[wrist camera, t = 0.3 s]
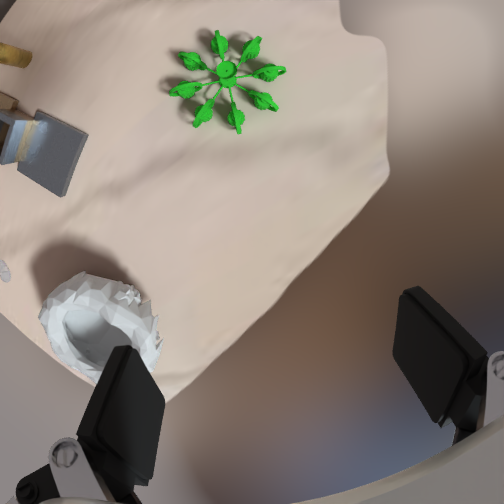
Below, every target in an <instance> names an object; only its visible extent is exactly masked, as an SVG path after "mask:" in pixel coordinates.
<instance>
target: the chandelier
mask: <svg viewBox="0 0 504 504" xmlns="http://www.w3.org/2000/svg"><path fill="white" fill-rule="evenodd" d="M261 40H262V38H261V37H259V36H257V37H256V38H255V39H254V40H249V41H247V42H246V43H245V44H244V46H243V49H242V51H243V55H242V57H241V59H240V60H241V61H240V62H239V64H238V65H237V66H236V65H235V64H234V63H233V62H230V61H224V53H225V52H226V51H227V49H228V41H227V40H226V38H225V37H224V36H220V34H219V30H216V31H215V37H214V38H213V39H212V41H211V48H212V50H213V52H214V53H216V54H219V55H220V58H221V59H222V62H221V63H220V64H219V65H218V66H217V69H216V71H217V72H215V71H213V70H211V69H209V68H207V65H206V64H205V63H204V62H202V61H201V58H200V56H199V55H197V53H194V52H190V53H186V52H180V53H179V54H178V57H179V58H180V59H182V60H183V62H184V65H185V66H186V68H188V69H189V70H192V71H194V70H197V69H200V70H206V69H207V70H209V71H211V72H213V73H215V74H216V75H218V76H219V81H214V82H210V83H206V84H202V83H199V82H193V83H191V82H188V81H182V82H180V83H179V84H178V86H176V87H174V88H172V89H171V90H170V91H169V95H170V96H181V97H182V98H185V99H187V98H188V99H189V98H190V97H192V96H193V95H194V94H195V92H196V91H199V90H200V89H202V86H205V85H209V84H213V83H218V82H219V84H220V85H221V88H220V89H219V90H218V92H217V93H216V95H215V96H214V97H213V99H209V100H208V101H207V102H206V103H205V104H204V105H200V106H198V107H197V108H196V110H195V116H196V118H195V120H194V122H193V127H195V128H198V127H199V126H200V124H201V123H202V122H207V121H209V120H210V119H211V118H212V116H213V114H212V113H213V111H212V110H211V108H212V107H213V105H214V102H215V100H214V99H215V98H216V96H217V95H218V94H219V92H220V91H221V89H222V88H223V87H224V88H229V93H230V97H231V102H232V103H231V107H232V111H231V112H229V115H228V119H227V120H228V122H229V124H231V125H232V126H235V127H236V130H237V134H241V127H240V125H241V124H243V122H244V120H245V119H244V117H245V115H244V114H243V112H241V111H240V110H237V108H236V104H235V102H233V97H232V93H231V87H233V86H234V85H236V86H238V87H240V88H241V89H243V90H245V91H246V92H248V95H249V96H250V97H251V98H252V99H253V100H254V101H255V102H254V104H255V106H256V107H257V108H258V109H260V110H265V109H269V110H271V111H274V112H276V111H277V110H278V109H279V107H278V106H277V105H276V104H275V103H274V102H273V101H272V97H271V95H270V94H268V93H265V92H264V93H259V92H257V91H254V90H251V91H248V90H247V89H245V88H243V87H241V86H240V85H238V84H236V79H237V78H243V77H249V76H253V77H254V78H262V79H263V80H264V81H266V82H271V81H274V79H275V78H276V77H277V76H279V75H282V74H284V73H286V68H285V67H283V66H276V65H274V64H266V65H264V67H262V68H261V69H258V70H256V71H254V72H253V74H250V75H244V76H239V77H236V76H235V75H236V73H237V68H238V67H239V65H240V64H241V63H242V62H246V61H247V60H248V59H249V58H250V59H253V58H255V57H257V56H258V54H259V51H260V46H259V44H260V42H261ZM250 53H251V54H250ZM184 56H185V57H184ZM278 70H282V71H280V72H278ZM259 73H260V75H257V74H259ZM194 86H199V87H197V88H195V87H194ZM175 91H177V93H173V92H175ZM254 95H256V96H257V97H255V96H254ZM270 105H272V106H273V107H271V106H270Z"/></svg>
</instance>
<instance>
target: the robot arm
mask: <svg viewBox="0 0 504 504" xmlns="http://www.w3.org/2000/svg"><path fill="white" fill-rule="evenodd" d="M486 355H487V351H486V350H485V349H484V348H483V347H482V346H481V345H480V344H479V343H478V342H477V341H476V340H475V339H474V338H473V337H472V336H471V335H470V334H469V333H468V332H467V331H466V330H465V329H464V328H463V327H462V326H461V325H460V324H459V323H458V322H457V321H456V320H455V319H454V318H453V317H452V316H451V315H450V314H449V313H448V312H447V311H446V310H445V309H444V308H443V307H442V306H441V305H440V304H439V303H437V302H436V301H435V300H434V299H433V298H432V297H431V296H430V295H429V294H428V293H427V292H425V291H424V290H423V289H422V288H421V287H419V286H416V287H412V288H409V289H406V290H404V291H403V294H402V295H401V296H400V297H399V306H398V315H397V324H396V331H395V338H394V345H393V357H394V359H395V361H396V362H397V364H398V366H399V367H400V369H401V370H402V372H403V374H404V375H405V377H406V378H407V380H408V381H409V383H410V385H411V386H412V388H413V389H414V391H415V393H416V394H417V396H418V398H419V399H420V401H421V402H422V404H423V406H424V407H425V409H426V410H427V412H428V414H429V416H430V418H431V419H432V421H433V422H434V423H438V424H439V426H440V427H441V428H442V427H444V426H446V425H448V424H450V423H451V422H453V423H454V424H455V426H456V429H455V434H454V438H453V442H452V446H451V447H449V448H448V449H446V450H444V451H442V452H440V453H438V454H437V455H435V456H433V457H431V458H429V459H427V460H425V461H423V462H421V463H419V464H417V465H414V466H412V467H410V468H408V469H405V470H403V471H401V472H399V473H396V474H394V475H391V476H389V477H386V478H384V479H381V480H378V481H375V482H373V483H370V484H367V485H364V486H361V487H358V488H355V489H352V490H348V491H345V492H341V493H337V494H334V495H330V496H326V497H322V498H318V499H313V500H309V501H303V502H298V503H293V504H504V351H499V352H497V353H494V354H493V355H492V356H491V357H490V359H489V358H488V357H487V356H486ZM164 409H165V399H164V396H163V394H162V393H161V391H160V390H159V388H158V386H157V385H156V383H155V381H154V379H153V378H152V376H151V374H150V373H149V371H148V369H147V367H146V365H145V364H144V362H143V360H142V358H141V356H140V354H139V353H138V351H137V349H135V348H133V347H132V346H131V345H122V346H115V347H114V348H113V350H112V352H111V354H110V356H109V359H108V361H107V363H106V365H105V367H104V369H103V371H102V374H101V376H100V378H99V380H98V382H97V385H96V387H95V389H94V392H93V394H92V396H91V399H90V401H89V403H88V406H87V408H86V411H85V413H84V416H83V418H82V420H81V423H80V425H79V428H78V431H77V433H76V435H77V436H78V439H77V440H75V439H73V438H70V437H68V438H62V439H59V440H58V441H57V442H55V443H54V444H53V446H52V447H51V449H50V451H49V456H48V459H49V464H47V465H45V466H44V467H42V468H40V469H38V470H36V471H35V472H33V473H31V474H30V475H28V476H26V477H24V478H22V479H21V480H20V481H19V483H18V484H17V487H16V497H17V498H16V497H14V496H13V497H12V498H11V499H10V500H9V501H8V502H7V503H6V504H142V502H141V501H140V499H139V498H138V496H137V495H136V494H135V492H134V491H133V490H134V485H141V486H148V482H149V479H152V477H153V472H154V466H155V460H156V454H157V448H158V442H159V436H160V430H161V425H162V419H163V414H164Z"/></svg>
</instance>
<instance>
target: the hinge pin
mask: <svg viewBox="0 0 504 504" xmlns="http://www.w3.org/2000/svg"><path fill="white" fill-rule="evenodd" d="M31 60H32V52H30V51H27V50H24V49H21V48H17V47H14V46H11V45H7V44H4V43H0V63H1V64H5V65H10V66H15V67H19V68H25V67H27V66H28V65H29V63H30V62H31Z"/></svg>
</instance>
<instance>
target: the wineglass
mask: <svg viewBox="0 0 504 504" xmlns="http://www.w3.org/2000/svg"><path fill="white" fill-rule="evenodd" d="M10 277H11V275H10V271H9V268H8V266H7V264H6V263H5V262H4V261H2V260H0V279H1V280H2V281H4V282H9V281H10Z"/></svg>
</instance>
